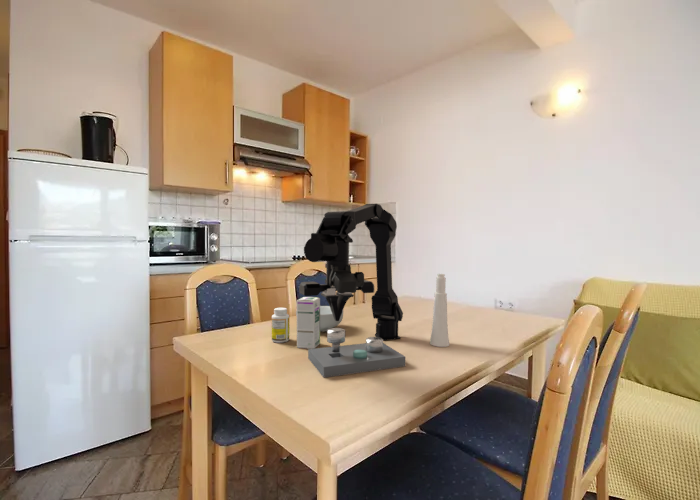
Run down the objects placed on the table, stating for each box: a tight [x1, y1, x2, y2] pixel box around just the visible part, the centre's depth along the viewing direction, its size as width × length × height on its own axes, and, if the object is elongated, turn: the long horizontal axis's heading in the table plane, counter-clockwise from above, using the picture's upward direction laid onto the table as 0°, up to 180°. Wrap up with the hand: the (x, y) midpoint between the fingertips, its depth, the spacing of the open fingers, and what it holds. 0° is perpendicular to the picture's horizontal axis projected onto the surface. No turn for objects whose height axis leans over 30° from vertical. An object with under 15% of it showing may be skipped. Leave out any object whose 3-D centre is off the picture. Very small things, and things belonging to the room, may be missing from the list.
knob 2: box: [365, 336, 384, 353], centre depth 95 cm, size 5×5×6 cm
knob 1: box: [326, 327, 346, 353], centre depth 91 cm, size 5×5×6 cm
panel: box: [307, 342, 406, 378], centre depth 93 cm, size 22×14×2 cm, turn 112°
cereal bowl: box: [295, 305, 344, 333], centre depth 127 cm, size 17×17×7 cm
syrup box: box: [296, 296, 321, 350], centre depth 106 cm, size 6×6×14 cm
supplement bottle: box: [271, 307, 290, 344], centre depth 111 cm, size 6×6×10 cm
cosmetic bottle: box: [429, 273, 451, 348], centre depth 110 cm, size 6×6×22 cm
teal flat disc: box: [353, 350, 367, 359], centre depth 90 cm, size 4×4×1 cm
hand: (336, 320), depth 91 cm, fingers closed
